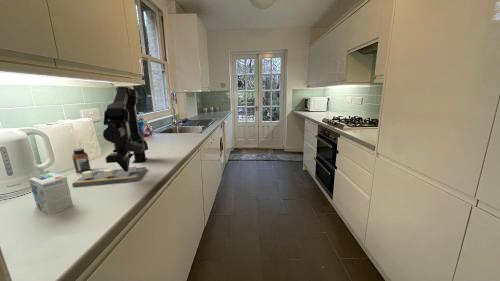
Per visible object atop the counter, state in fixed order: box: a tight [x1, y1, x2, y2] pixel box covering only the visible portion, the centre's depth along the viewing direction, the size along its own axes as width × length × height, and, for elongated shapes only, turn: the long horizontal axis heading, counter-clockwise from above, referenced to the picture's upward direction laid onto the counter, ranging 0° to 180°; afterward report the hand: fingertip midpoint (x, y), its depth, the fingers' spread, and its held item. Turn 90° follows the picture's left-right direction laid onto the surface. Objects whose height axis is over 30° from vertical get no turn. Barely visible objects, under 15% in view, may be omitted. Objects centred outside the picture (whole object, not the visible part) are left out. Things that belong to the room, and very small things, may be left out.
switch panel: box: [71, 166, 147, 188], centre depth 95 cm, size 14×25×2 cm, turn 101°
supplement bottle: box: [71, 148, 91, 174], centre depth 102 cm, size 6×6×11 cm
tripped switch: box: [128, 164, 137, 173], centre depth 96 cm, size 2×3×3 cm, turn 101°
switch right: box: [81, 170, 93, 179], centre depth 90 cm, size 2×3×3 cm, turn 101°
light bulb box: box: [28, 171, 74, 215], centre depth 70 cm, size 11×7×11 cm, turn 62°
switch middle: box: [104, 168, 114, 177], centre depth 91 cm, size 2×3×3 cm, turn 101°
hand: (126, 171), depth 90 cm, fingers closed
